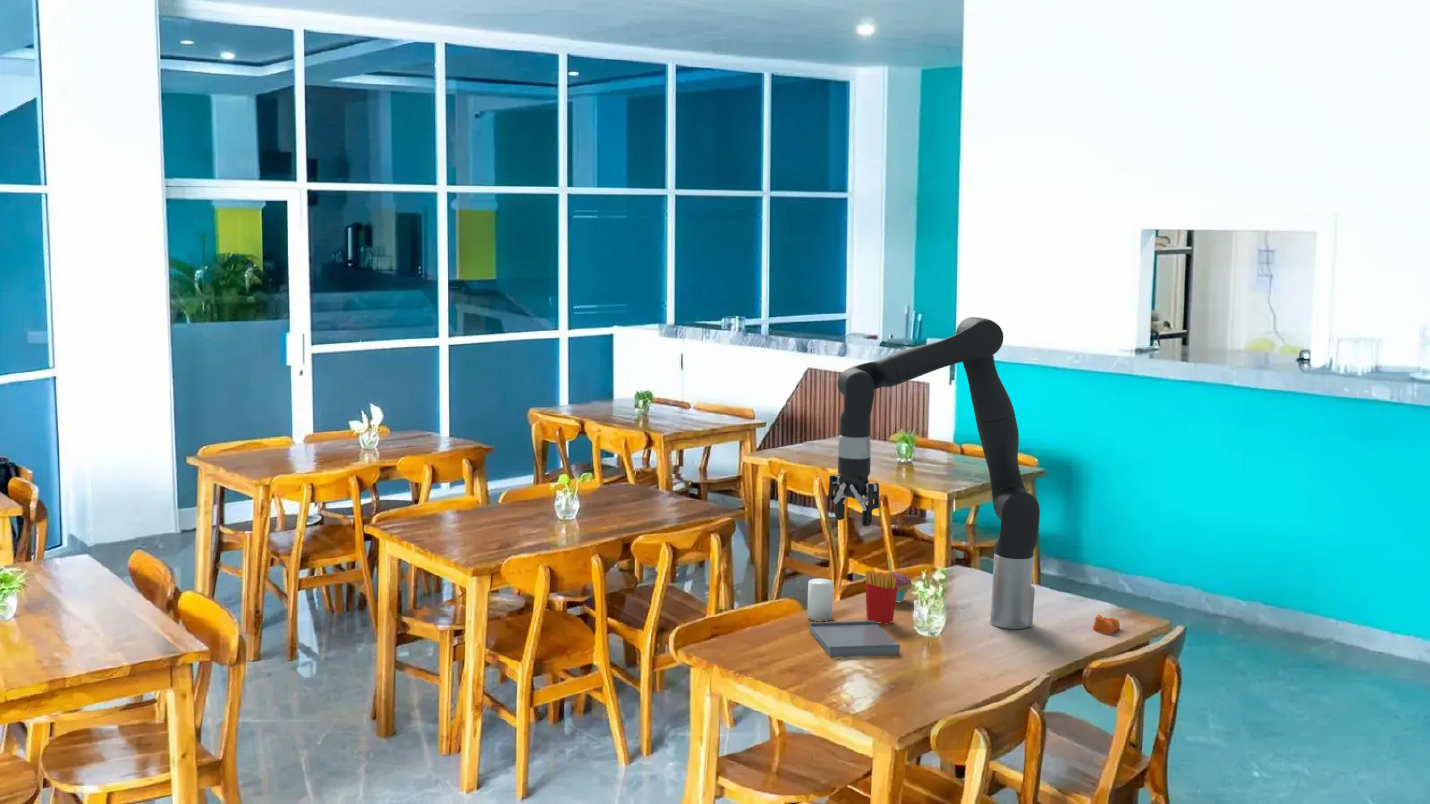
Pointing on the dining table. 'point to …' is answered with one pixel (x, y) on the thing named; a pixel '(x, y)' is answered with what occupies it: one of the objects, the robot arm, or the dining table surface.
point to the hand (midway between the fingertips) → (853, 522)
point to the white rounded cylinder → (820, 599)
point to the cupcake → (900, 582)
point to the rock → (1106, 625)
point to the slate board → (853, 638)
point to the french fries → (880, 596)
